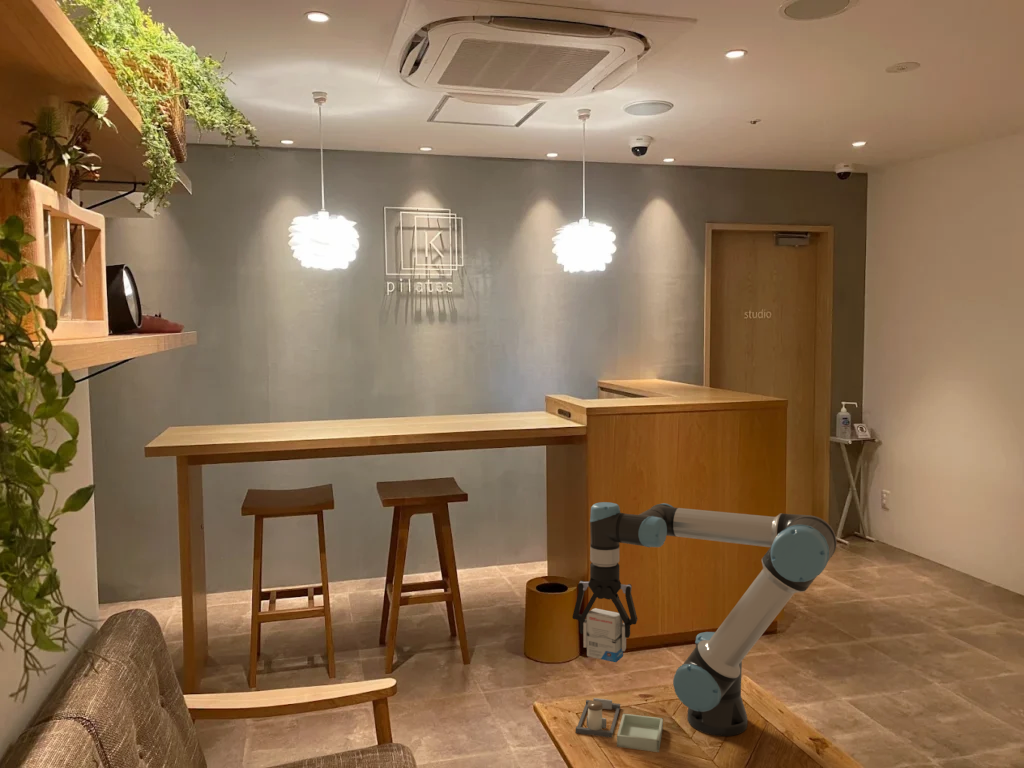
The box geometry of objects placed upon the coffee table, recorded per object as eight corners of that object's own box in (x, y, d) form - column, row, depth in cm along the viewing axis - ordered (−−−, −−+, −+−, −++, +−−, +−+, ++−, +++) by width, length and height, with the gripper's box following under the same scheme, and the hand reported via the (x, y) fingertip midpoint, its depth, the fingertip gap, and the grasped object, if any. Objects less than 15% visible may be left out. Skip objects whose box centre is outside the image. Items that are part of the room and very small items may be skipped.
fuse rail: (620, 708, 222) (620, 699, 222) (611, 737, 206) (611, 728, 206) (586, 704, 224) (586, 695, 224) (575, 732, 209) (575, 723, 208)
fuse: (603, 728, 211) (603, 701, 210) (601, 736, 207) (601, 708, 206) (588, 727, 212) (588, 699, 211) (586, 734, 208) (586, 706, 207)
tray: (662, 728, 211) (662, 718, 211) (658, 752, 199) (659, 741, 199) (622, 723, 213) (623, 713, 213) (616, 746, 202) (616, 735, 202)
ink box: (623, 656, 214) (624, 612, 214) (615, 663, 210) (615, 618, 210) (594, 650, 219) (594, 606, 218) (585, 656, 215) (585, 612, 214)
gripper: (649, 561, 214) (648, 646, 215) (566, 556, 220) (566, 638, 221) (646, 569, 207) (645, 657, 208) (560, 563, 212) (560, 648, 214)
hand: (604, 647), depth 215 cm, fingers closed on ink box, 9 cm apart
